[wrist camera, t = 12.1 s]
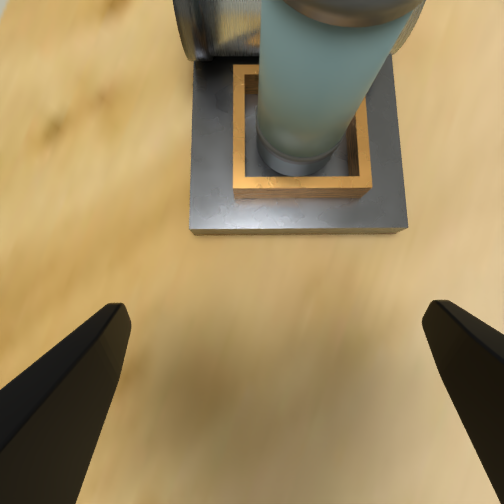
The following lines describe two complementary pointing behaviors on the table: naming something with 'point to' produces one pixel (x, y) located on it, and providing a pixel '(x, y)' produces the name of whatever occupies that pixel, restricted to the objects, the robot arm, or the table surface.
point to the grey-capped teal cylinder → (318, 74)
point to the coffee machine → (245, 145)
